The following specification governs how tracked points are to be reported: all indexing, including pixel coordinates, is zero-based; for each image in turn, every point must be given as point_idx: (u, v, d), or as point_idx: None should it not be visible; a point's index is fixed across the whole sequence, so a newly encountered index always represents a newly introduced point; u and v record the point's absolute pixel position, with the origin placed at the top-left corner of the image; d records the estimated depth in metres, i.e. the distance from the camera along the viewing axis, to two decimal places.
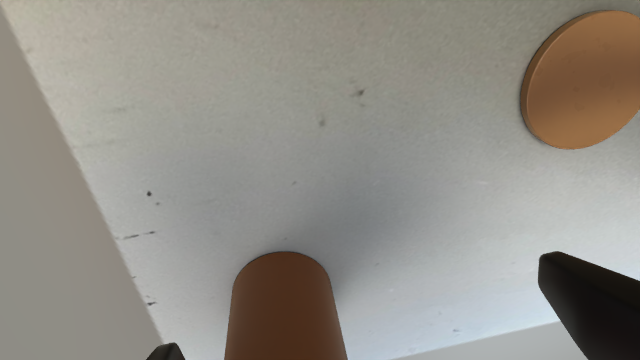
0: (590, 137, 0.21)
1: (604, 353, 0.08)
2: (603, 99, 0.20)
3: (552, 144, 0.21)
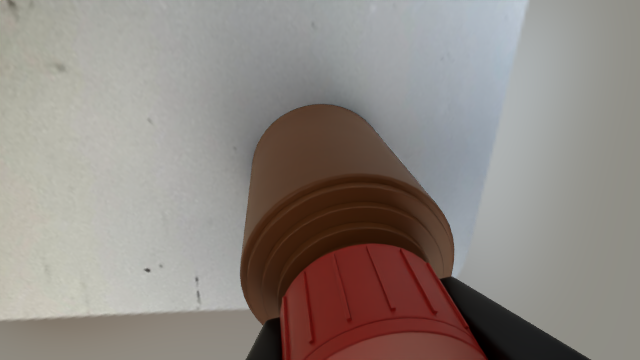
0: None
1: None
2: None
3: None
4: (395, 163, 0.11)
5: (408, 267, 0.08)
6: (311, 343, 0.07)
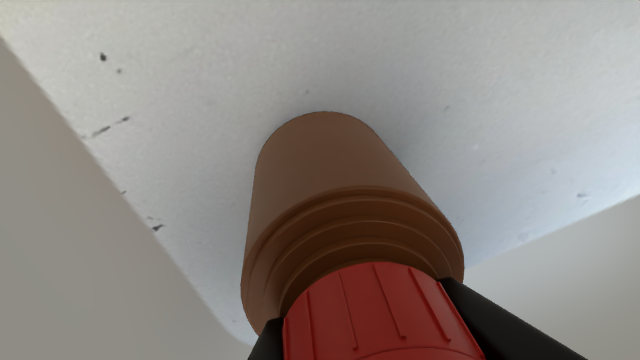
0: None
1: None
2: None
3: None
4: None
5: (417, 288, 0.08)
6: None
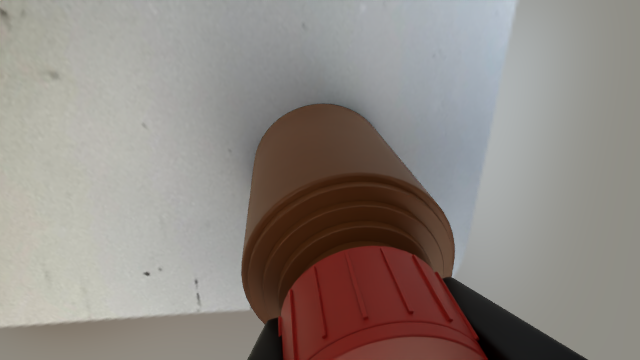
0: None
1: None
2: None
3: None
4: (394, 161, 0.11)
5: None
6: None
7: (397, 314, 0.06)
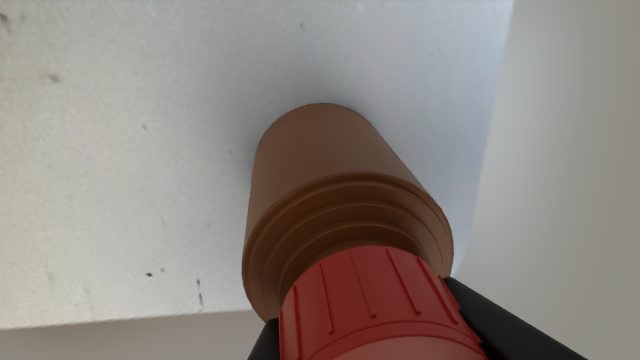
0: None
1: None
2: None
3: None
4: (392, 160, 0.11)
5: None
6: None
7: None
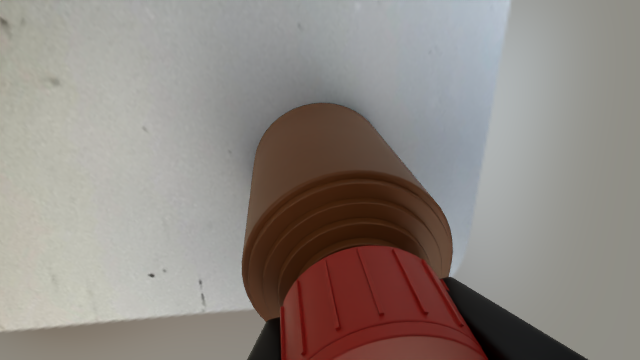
0: None
1: None
2: None
3: None
4: (390, 158, 0.11)
5: None
6: (479, 346, 0.07)
7: None
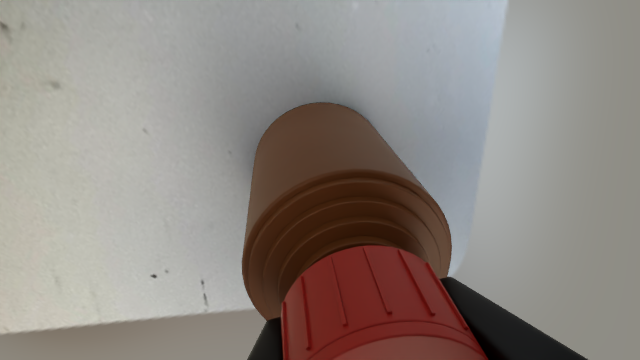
0: None
1: None
2: None
3: None
4: (388, 157, 0.11)
5: None
6: (387, 314, 0.06)
7: None
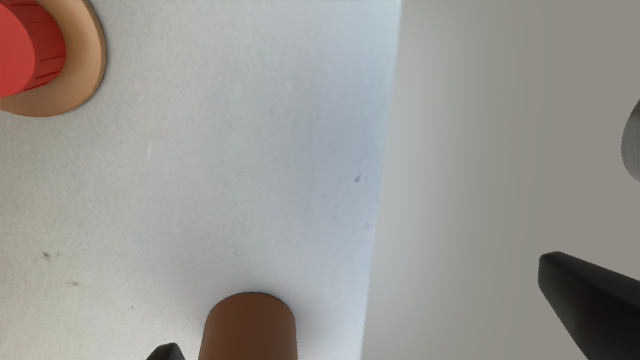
0: (85, 34, 0.17)
1: (604, 353, 0.08)
2: None
3: (94, 83, 0.18)
4: None
5: (46, 21, 0.16)
6: None
7: None
